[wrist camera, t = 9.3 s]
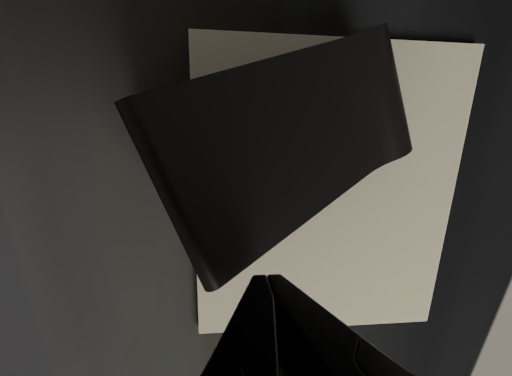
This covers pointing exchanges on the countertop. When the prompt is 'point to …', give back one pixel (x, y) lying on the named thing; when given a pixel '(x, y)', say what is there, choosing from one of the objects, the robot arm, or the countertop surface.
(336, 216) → the mat
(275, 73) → the phone stand
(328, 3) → the countertop surface
